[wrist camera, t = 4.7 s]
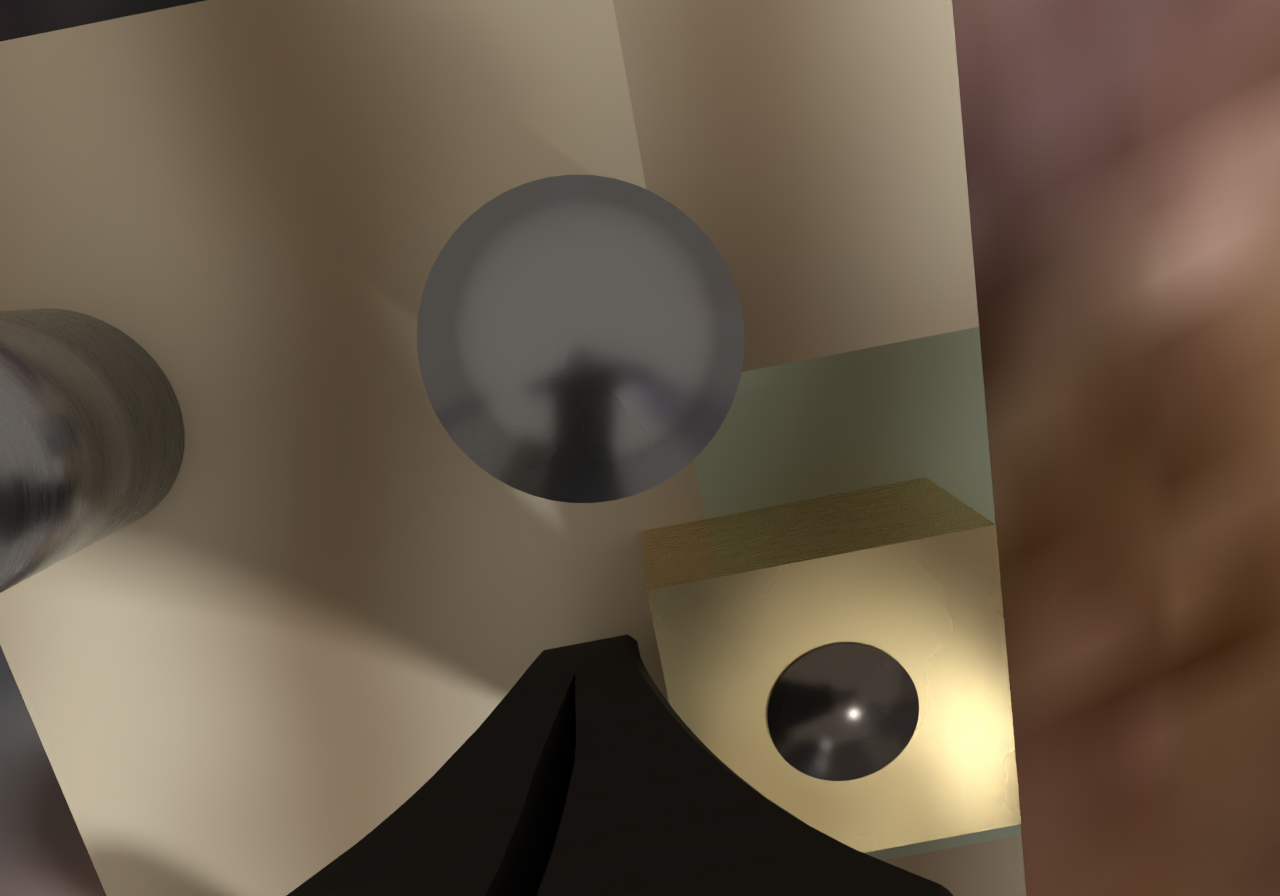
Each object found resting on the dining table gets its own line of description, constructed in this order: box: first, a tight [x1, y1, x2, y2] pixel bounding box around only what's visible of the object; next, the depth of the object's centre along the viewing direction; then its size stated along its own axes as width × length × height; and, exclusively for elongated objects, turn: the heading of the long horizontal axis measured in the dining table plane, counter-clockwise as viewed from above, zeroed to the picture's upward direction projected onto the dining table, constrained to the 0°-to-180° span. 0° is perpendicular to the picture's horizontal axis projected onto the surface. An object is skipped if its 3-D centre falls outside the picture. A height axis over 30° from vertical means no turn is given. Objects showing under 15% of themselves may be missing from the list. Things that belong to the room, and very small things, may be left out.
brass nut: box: [641, 477, 1021, 853], centre depth 10 cm, size 4×4×2 cm
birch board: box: [0, 0, 1027, 896], centre depth 12 cm, size 14×19×1 cm
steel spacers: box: [0, 175, 745, 593], centre depth 10 cm, size 13×16×3 cm
